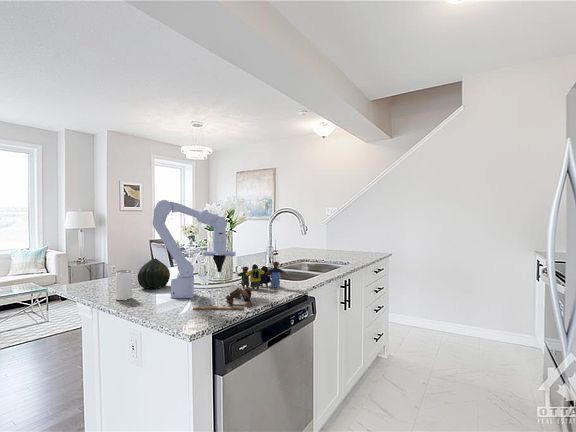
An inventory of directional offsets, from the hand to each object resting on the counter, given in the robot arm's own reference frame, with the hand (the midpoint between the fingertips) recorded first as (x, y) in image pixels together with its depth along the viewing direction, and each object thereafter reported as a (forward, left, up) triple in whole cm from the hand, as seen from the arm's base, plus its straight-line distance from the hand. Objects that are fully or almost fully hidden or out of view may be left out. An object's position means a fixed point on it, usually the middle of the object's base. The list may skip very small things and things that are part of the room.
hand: (219, 271), depth 151 cm
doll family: (+19, +9, -10) cm, 23 cm away
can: (-39, -11, -10) cm, 42 cm away
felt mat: (+10, -5, -10) cm, 15 cm away
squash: (-35, +11, -10) cm, 38 cm away
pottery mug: (+13, -21, -10) cm, 26 cm away
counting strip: (+5, -25, -10) cm, 28 cm away
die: (+8, -6, -10) cm, 14 cm away
